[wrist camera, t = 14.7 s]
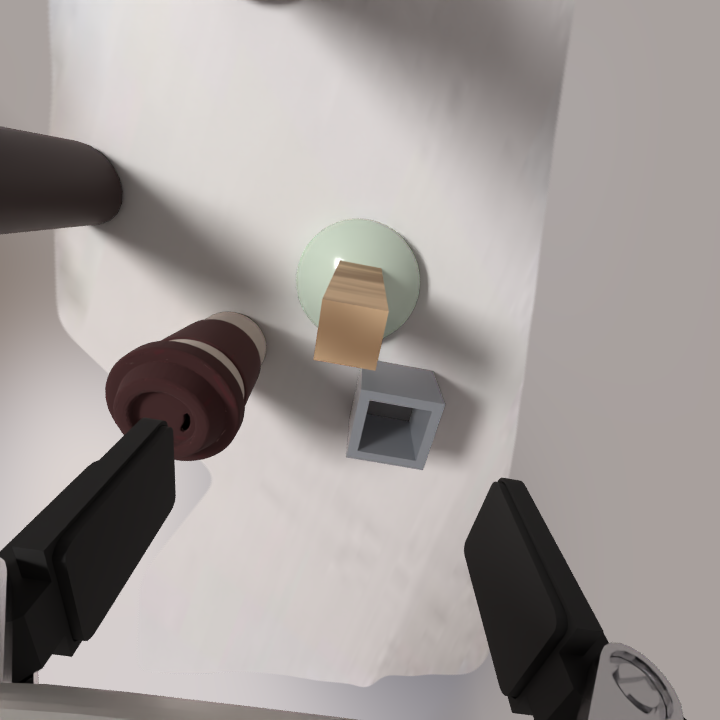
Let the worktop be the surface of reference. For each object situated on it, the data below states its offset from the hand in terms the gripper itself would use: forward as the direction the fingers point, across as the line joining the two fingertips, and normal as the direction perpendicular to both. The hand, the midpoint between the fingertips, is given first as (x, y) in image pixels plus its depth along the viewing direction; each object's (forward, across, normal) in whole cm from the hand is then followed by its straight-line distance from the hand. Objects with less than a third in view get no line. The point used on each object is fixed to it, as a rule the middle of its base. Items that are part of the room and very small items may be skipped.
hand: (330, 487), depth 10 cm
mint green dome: (+28, 0, 0) cm, 28 cm away
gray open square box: (+28, -6, +12) cm, 31 cm away
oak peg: (+27, 0, 0) cm, 27 cm away
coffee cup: (+28, +12, +9) cm, 32 cm away
